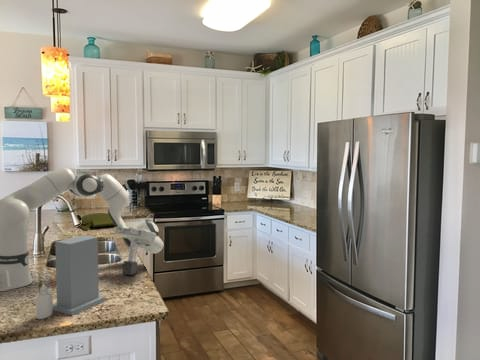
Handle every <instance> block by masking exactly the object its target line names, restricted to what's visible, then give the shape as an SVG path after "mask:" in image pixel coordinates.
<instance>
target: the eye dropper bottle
mask: <svg viewBox="0 0 480 360" xmlns="http://www.w3.org/2000/svg"><path fill="white" fill-rule="evenodd" d="M48 291H49V290H48V286H46V284H45V283H42V286H40V287H39V294H38V295H37V296H36V297H35V318H36V319H37V320H43V319H46V318H49V317H51V316H52V315H53V313H54V310H53V305H52V304H53V294H52V293H50V292H48Z"/></svg>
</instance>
